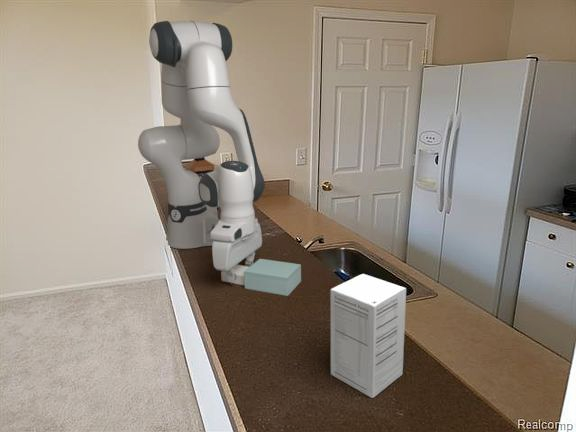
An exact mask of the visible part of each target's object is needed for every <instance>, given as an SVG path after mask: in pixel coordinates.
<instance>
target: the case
mask: <svg viewBox="0 0 576 432" xmlns="http://www.w3.org/2000/svg"><path fill="white" fill-rule="evenodd" d="M244 282H245V286H244V289H247V290H251V291H257V292H263V293H267V294H275V295H280V296H286V297H287V296H289V295H290V294H291V293H292V292H293V290H295V289H296V287H298V285H299V284H300V283H301V282H302V264H300V263H294V262H287V261H286V262H285V261H278V260H272V259H265V258H259V259H258V260H256V261H255V262H253V264H252V265H251V266H250V267H249V268H247V269H246V270H245V271H244Z"/></svg>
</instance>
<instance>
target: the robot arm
mask: <svg viewBox="0 0 576 432" xmlns="http://www.w3.org/2000/svg"><path fill="white" fill-rule="evenodd" d="M148 43H149V48H150V52H151V54H152V57H153V58H154V59H155V60H156V62H158V63H159V64H161V71H160V72H161V75H160V76H161V78H160V80H161V81H160V83H161V84H160V86H161V87H160V88H161V89H160V90H161V105H162V108H163V109H164V110H165V112H167V113H169V114H170V115H172V116H174V117H176V118H178V119H180V123H179V124H175V125H161V126H155V127H151V128H147V129H144V130H143V131H141V133H140V135H139V137H138V140H137V141H138V142H137V147H138V151H139V153H140V155H141V157H142V158H143V159H145V160H146V161H147V162H149V163H151V164H153V166H155V167H156V168H157V169H158V171H159V172H160V173H161V175H162V177H163V180H164V182H165V187H166V192H167V201H168V202H167V205H166V206H167V208H166V209H167V214H168V217H167V235H166V236H165V240H166V241H167V245H168V246H169V247H171V248H173V249H180V250H181V249H183V250H184V249H186V250H187V249H196V248H201V247H210V246H211V251H212V252H211V253H212V254H211V255H212V262H213V263H212V265H213V267H214V269H215V270H216V271H220V272H222V271H225V272H226V274H227V277H228V281H229V282H228V283H230V282H233V281H235V280H236V274H234V272H233V270H234V266H235V265H236V264H237V265H239V264H240V262H241V263H242V261H243V260H244V259H246V260H245V261H244V266H247V267H250V266H251V265H252V264H254V259H255V255H256V251H257V250H258V249H260V248H261V247H262V244H263V236H262V235H263V234H262V228H261V224H260V223H259V221H258V218H257V217H256V216H255V215H256V214H255V208H254V203H255V202H258V201H259V199H261V196H262V195H263V193H264V192H265V187H266V184H265V178H264V176H263V173H262V171H261V169H260V166H259V162H258V158H257V154H256V151H255V146H254V143H253V138H252V135H251V130H250V126H249V123H248V120H247V116H246V115H245V114H246V113H244V111H243V110H242V109H241V108H239V107H238V106H237V104H236V102H235V100H234V98H233V94H232V88H231V81H230V79H231V78H230V75H229V74H230V73H229V70H228V64H227V61H228V60H229V58H230V57H231V55H232V53H233V38H232V34H231V32H230V30H229V28H228V27H227V26H225V25H222V24H220V23H217V22H212V23H210V22H206V21H205V22H204V21H198V20H188V21H185V20H184V21H183V20H178V21H168V20H163V21H158V22H154V24H153V25H152V26H151V29H150V32H149V37H148ZM216 128H218V129H221V130H223V131H225V132H226V133H227V134H228V135H229V136H230V137H231V138H232V143H233V146H234V150H235V153H236V158H237V160H227V161H223V162H221V163H220V164H219V166H218V168H217V169H214V170H213V171H212V172H209V173H206V174H204V175H203V176H202V178H201V179H200V177H199V176H198V175H197V174H196V173H194V172H192V171H190V170H187V169H186V168H184V165H183V162H182V161H185V160H194V159H196V158H203V157H204V158H208V157H209V156H212V155H214V154H216V153H217V152H218V149H219V148H220V142H221V141H220V140H221V139H220V134H219V133H218V131H217V130H216ZM205 204H206V205H208V206H209V207H218V208H219V209H220V215H219V216H218V217H217V216H216V215H214V214H212V213H211V212H210V211H208V210H207V208H206V205H205ZM219 217H220V219H219Z"/></svg>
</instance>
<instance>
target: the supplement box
mask: <svg viewBox="0 0 576 432" xmlns="http://www.w3.org/2000/svg"><path fill="white" fill-rule="evenodd" d="M329 295H330V296H329V297H330V375H331V376H333V377H335V378H336V379H338V380H340V381H341V382H343V383H345V384H347V385H348V386H350V387H352V388H354V389H355V390H357V391H359V392H361V393H362V394H364V395H366V396H367V397H368V398H371V399H374V398H375V397H376V396H377V395H379V394H380V393H381V392H382V391H384V390H385V389H386V388H388V386H390V385H391V384H392V383H394V382H395V381H396V380H397V379H399V378H400V377H401V376H402V375H403V373H404V372H403V370H404V350H405V349H404V346H405V327H406V323H405V322H406V304H407V303H406V302H407V288H406V287H404V286H400V285H398V284H395V283H392V282H389V281H387V280H383V279H381V278H377V277H374V276H372V275H368V274H365V273H362V274H359V275H357V276H355V277H352V278H351V279H349V280H347V281H344V282H342V283H340V284H337V285H336V286H334V287H332V288H330V293H329Z"/></svg>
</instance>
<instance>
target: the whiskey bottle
mask: <svg viewBox="0 0 576 432" xmlns="http://www.w3.org/2000/svg"><path fill="white" fill-rule="evenodd" d="M185 169H187V170H190V171H192V172H194V173H196V174H197V175H198V176H199V177H200V179H201V178H202V176H203V175H204V174H206V173H209V172H212V171H215V164H214V163H211V162H210V161H208V160H207V159H206V157H203V158H196V159H191V161H189V162H188V163H186V164H185ZM217 208H218V209H219V207H217Z"/></svg>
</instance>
